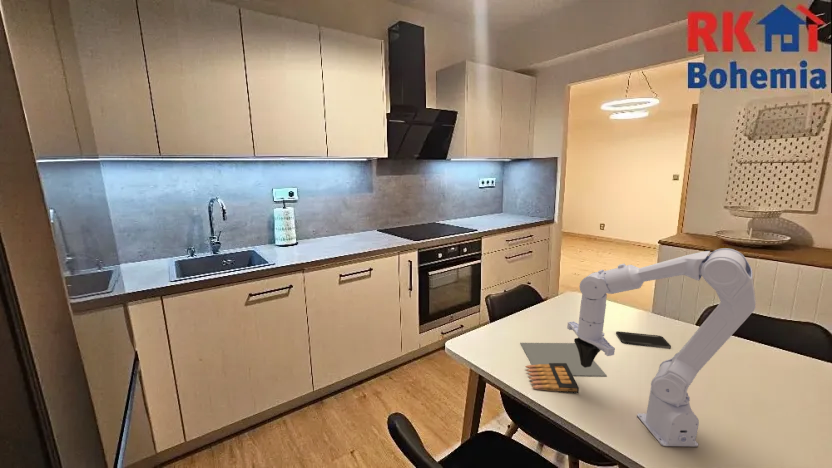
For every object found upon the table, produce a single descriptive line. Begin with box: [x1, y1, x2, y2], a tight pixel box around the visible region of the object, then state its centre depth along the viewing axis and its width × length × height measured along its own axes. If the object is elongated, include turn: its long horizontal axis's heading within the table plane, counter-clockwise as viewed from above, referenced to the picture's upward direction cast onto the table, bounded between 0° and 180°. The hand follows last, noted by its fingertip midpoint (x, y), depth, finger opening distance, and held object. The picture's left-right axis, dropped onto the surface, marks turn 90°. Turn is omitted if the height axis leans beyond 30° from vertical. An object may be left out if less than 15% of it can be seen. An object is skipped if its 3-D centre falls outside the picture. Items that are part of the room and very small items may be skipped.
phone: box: [615, 330, 672, 350], centre depth 119 cm, size 8×1×15 cm
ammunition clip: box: [525, 363, 580, 394], centre depth 98 cm, size 11×2×12 cm
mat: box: [520, 342, 608, 377], centre depth 109 cm, size 18×20×1 cm
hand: (585, 365), depth 91 cm, fingers closed
